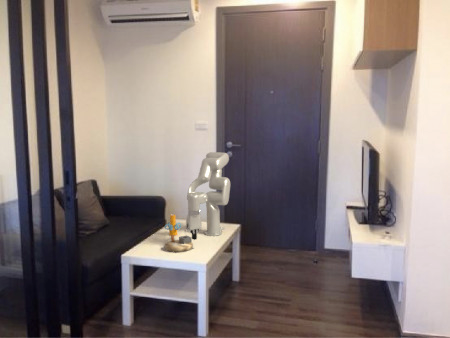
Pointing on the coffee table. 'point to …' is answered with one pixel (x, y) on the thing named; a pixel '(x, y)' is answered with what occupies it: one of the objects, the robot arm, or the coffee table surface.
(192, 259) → the coffee table surface
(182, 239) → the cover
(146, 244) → the coffee table surface
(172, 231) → the cylinder
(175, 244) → the turntable
